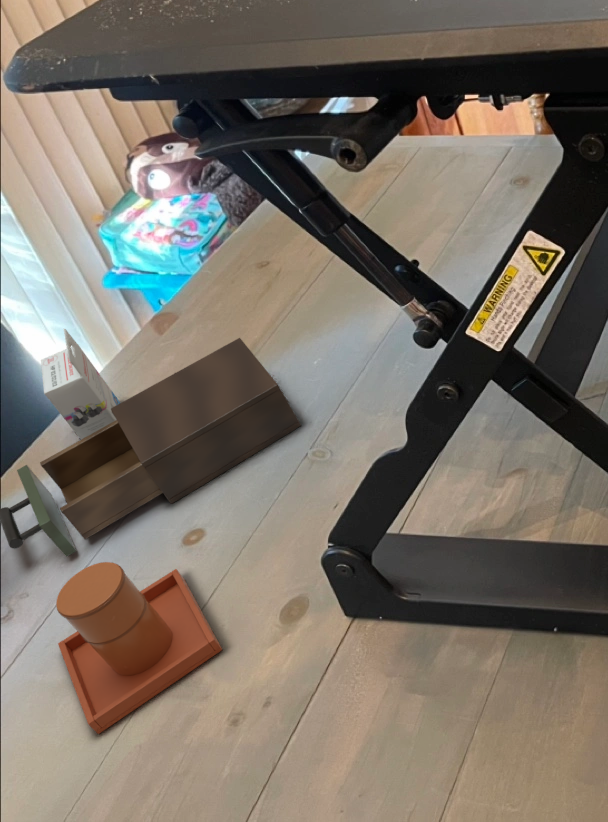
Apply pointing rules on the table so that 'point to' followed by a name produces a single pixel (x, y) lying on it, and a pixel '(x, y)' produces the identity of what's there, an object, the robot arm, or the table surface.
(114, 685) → the tray
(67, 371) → the ink box
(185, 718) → the table surface
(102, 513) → the drawer
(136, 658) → the lidded orange canister
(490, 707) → the table surface
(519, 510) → the table surface
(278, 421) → the cabinet
